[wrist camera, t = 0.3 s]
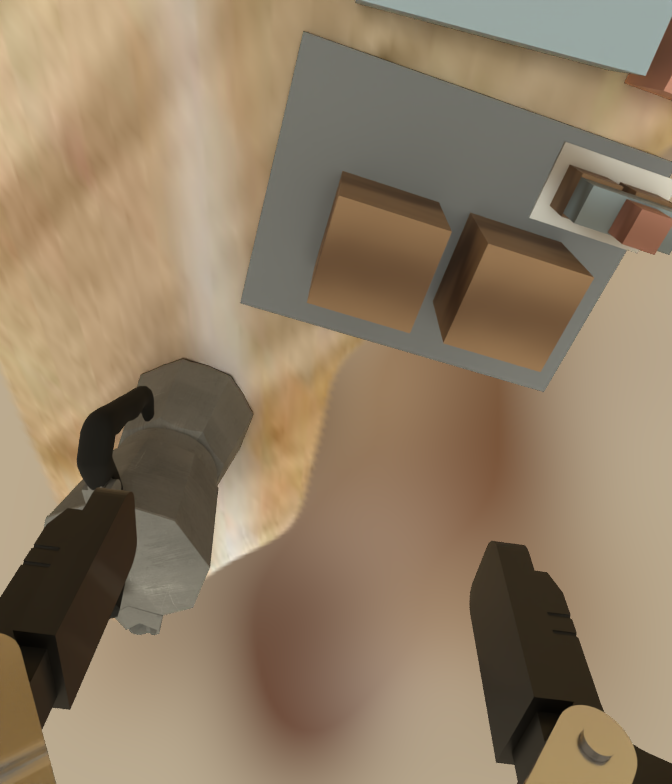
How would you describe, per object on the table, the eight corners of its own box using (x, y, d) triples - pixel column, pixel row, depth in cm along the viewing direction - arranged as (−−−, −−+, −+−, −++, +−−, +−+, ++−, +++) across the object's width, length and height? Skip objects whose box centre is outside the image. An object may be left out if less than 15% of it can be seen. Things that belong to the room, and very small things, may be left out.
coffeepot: (261, 479, 47) (212, 693, 32) (147, 477, 48) (44, 687, 32) (244, 303, 39) (167, 476, 24) (106, 302, 40) (-56, 472, 24)
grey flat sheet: (304, 31, 31) (303, 31, 30) (672, 161, 34) (677, 163, 33) (241, 299, 39) (240, 303, 39) (541, 387, 42) (544, 392, 41)
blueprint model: (564, 141, 33) (605, 164, 27) (678, 181, 34) (741, 211, 28) (528, 216, 35) (559, 252, 29) (636, 252, 36) (686, 293, 30)
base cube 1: (342, 170, 34) (339, 195, 29) (439, 202, 35) (451, 231, 30) (314, 265, 37) (306, 302, 32) (403, 292, 38) (409, 333, 33)
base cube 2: (470, 212, 35) (488, 243, 30) (561, 242, 36) (594, 277, 31) (432, 301, 38) (443, 343, 33) (517, 327, 39) (540, 372, 34)
